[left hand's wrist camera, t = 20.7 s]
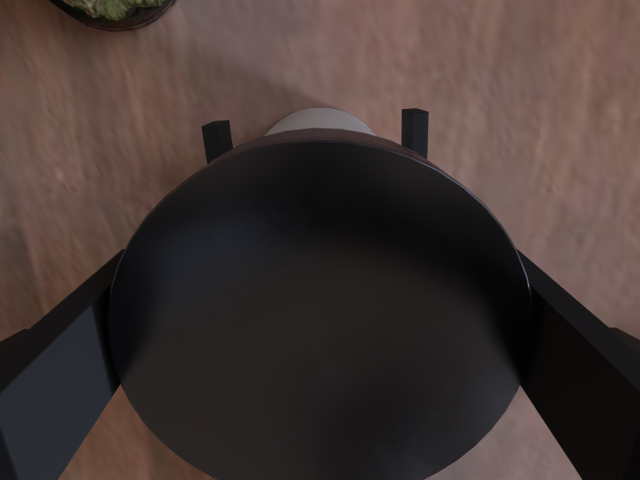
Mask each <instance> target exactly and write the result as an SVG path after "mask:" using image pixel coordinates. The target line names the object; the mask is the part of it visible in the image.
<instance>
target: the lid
mask: <svg viewBox="0 0 640 480" xmlns="http://www.w3.org/2000/svg"><path fill="white" fill-rule="evenodd" d="M533 326H534V320H533V304H532V296H531V291H530V287H529V282H528V278H527V274H526V271H525V269H524V266H523V264H522V261H521V259H520V256H519V254H518V251H517V249H516V248H515V246H514V244H513V243H512V241H511V239H510V237H509V236H508V234H507V232H506V231H505V229H504V227H503V226H502V225H501V224H500V222H499V221H498V220H497V219H496V218H495V216H494V215H493V214H492V213H491V212H490V210H489V209H488V208H487V207H486V206H485V205H484V204H483V203H482V202H481V201H480V200H479V199H478V198H476V197H475V196H474V195H473V194H472V193H471V192H470V191H469V190H467V189H466V188H465V187H464V186H463V185H462V184H460V183H459V182H458V181H456V180H455V179H453V178H452V177H451V176H449V175H448V174H447V173H445V172H444V171H443V170H441V169H440V168H439V167H437V166H436V165H434V164H433V163H431V162H430V161H428V160H427V159H425V158H424V157H422V156H421V155H419V154H417V153H416V152H414V151H412V150H410V149H408V148H406V147H404V146H401V145H399V144H397V143H395V142H393V141H390V140H387V139H384V138H381V137H377V136H374V135H371V134H368V133H363V132H357V131H351V130H345V129H333V128H307V129H298V130H288V131H283V132H279V133H275V134H271V135H267V136H263V137H259V138H257V139H254V140H252V141H249V142H247V143H244V144H242V145H239V146H237V147H235V148H233V149H231V150H229V151H228V152H226V153H224V154H222V155H221V156H219V157H217V158H215V159H214V160H212V161H211V162H210V163H208V164H207V165H206V166H204V167H203V168H202V169H200V170H199V171H198V172H196V173H195V174H194V175H192V176H191V177H190V178H188V179H187V180H186V181H184V182H183V183H182V184H181V185H179V186H178V187H177V188H175V189H174V190H173V191H172V192H170V193H169V194H168V195H166V196H165V197H164V198H163V199H162V200H161V201H160V203H159V204H158V205H157V206H156V207H155V208H154V209H153V210H152V211H151V212H150V213H149V214H148V215H147V216H146V217H145V219H144V220H143V222H142V223H141V224H140V226H139V227H138V229H137V230H136V232H135V233H134V234H133V236H132V237H131V239H130V241H129V243H128V245H127V247H126V249H125V251H124V253H123V255H122V257H121V259H120V261H119V263H118V266H117V270H116V273H115V276H114V280H113V283H112V286H111V292H110V299H109V307H108V338H109V344H110V349H111V355H112V360H113V363H114V366H115V369H116V372H117V375H118V378H119V381H120V383H121V385H122V387H123V389H124V391H125V393H126V395H127V397H128V399H129V401H130V403H131V405H132V406H133V407H134V409H135V410H136V412H137V413H138V415H139V416H140V418H141V419H142V421H143V422H144V423H145V424H146V425H147V426H148V428H149V429H150V430H151V431H152V432H153V433H154V434H155V435H156V437H157V438H158V439H159V440H160V441H162V442H163V443H164V444H165V445H166V446H167V447H168V448H169V449H171V450H172V451H173V452H174V453H175V454H176V455H178V456H179V457H181V458H182V459H184V460H185V461H186V462H188V463H189V464H191V465H192V466H193V467H195V468H197V469H199V470H200V471H202V472H204V473H206V474H208V475H210V476H211V477H213V478H215V479H217V480H423V479H425V478H427V477H429V476H431V475H433V474H435V473H438V472H439V471H441V470H442V469H444V468H445V467H447V466H449V465H450V464H452V463H453V462H455V461H457V460H458V459H459V458H460V457H462V456H463V455H464V454H465V453H467V452H468V451H469V450H470V449H472V448H473V447H474V446H475V445H476V444H477V443H478V442H479V441H480V440H481V439H482V438H483V437H484V436H485V435H486V434H487V433H488V432H489V431H490V430H491V429H492V428H493V427H494V425H495V424H496V423H497V421H498V420H499V419H500V418H501V416H502V415H503V414H504V412H505V411H506V409H507V408H508V406H509V404H510V403H511V401H512V399H513V397H514V396H515V394H516V392H517V390H518V388H519V385H520V383H521V380H522V378H523V376H524V373H525V371H526V367H527V363H528V359H529V355H530V351H531V347H532V337H533Z"/></svg>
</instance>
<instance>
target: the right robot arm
mask: <svg viewBox="0 0 640 480" xmlns="http://www.w3.org/2000/svg"><path fill="white" fill-rule="evenodd" d="M428 116H429V112H427V111H424V110H420V109H417V108H413V109H402V144H401V146H404V147H406V148H408V149H410V150H412V151H414V152H416V153H417V154H419V155H421V156H422V157H424V158H425V159H427V148H428ZM202 132H203V138H204V145H205V151H206V157H207V164H208V163H210V162H211V161H212V160H214V159H215V158H217V157H219V156H221V155H222V154H224V153H226V152H228V151H229V150H231V149H233V146H232V138H231V131H230V123H229V120H224V121H214V122H211V123H209V124H206V125H204V126H202Z"/></svg>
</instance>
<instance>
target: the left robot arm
mask: <svg viewBox="0 0 640 480" xmlns="http://www.w3.org/2000/svg"><path fill="white" fill-rule="evenodd" d="M124 251H125V249H122V250H121V251H120V252H119V253H118V254H117V255H115V256H114V257H113V258H112V259H111V260H110V261H108V262H107V263H106V264H105V265H104V266H103V267H101V268H100V269H99V270H98V271H97V272H96V273H94V274H93V275H92V276H91V277H90V278H89V279H87V280H86V281H85V282H84V283H83V284H82V285H80V286H79V287H78V288H77V289H76V290H75V291H73V292H72V293H71V294H70V295H69V296H68V297H66V298H65V299H64V300H63V301H62V302H61V303H59V304H58V305H57V306H56V307H55V308H54V309H52V310H51V311H50V312H49V313H48V314H47V315H45V316H44V317H43V318H42V319H41V320H40V321H38V322H37V323H36V324H35V325H34V326H33V327H31V328H30V329H24V330H22V331H20V332H18V333H16V334H14V335H12V336H10V337H8V338H7V339H5V340H3V341H1V342H0V480H58V478H59V477H60V475H61V474H62V472H63V471H64V469H65V468H66V466H67V465H68V463H69V461H70V460H71V458H72V457H73V455H74V454H75V452H76V451H77V449H78V448H79V446H80V445H81V443H82V442H83V440H84V439H85V437H86V436H87V434H88V433H89V431H90V430H91V428H92V426H93V425H94V423H95V422H96V420H97V419H98V417H99V416H100V414H101V413H102V411H103V410H104V408H105V407H106V405H107V404H108V402H109V401H110V399H111V398H112V396H113V395H114V393H115V391H116V390H117V388H118V387H119V385H120V384H121V383H120V381H119V378H118V375H117V372H116V369H115V366H114V363H113V360H112V355H111V349H110V344H109V338H108V307H109V299H110V292H111V286H112V283H113V280H114V276H115V273H116V270H117V266H118V263H119V261H120V259H121V257H122V255H123V253H124ZM517 251H518V254H519V256H520V259H521V261H522V264H523V266H524V269H525V271H526V274H527V278H528V282H529V287H530V291H531V296H532V304H533V320H534V326H533V337H532V347H531V351H530V355H529V359H528V363H527V367H526V371H525V373H524V376H523V378H522V380H521V383H520V385H521V387H522V388H523V390H524V391H525V393H526V394H527V396H528V398H529V399H530V401H531V402H532V404H533V405H534V407H535V408H536V410H537V411H538V413H539V414H540V416H541V417H542V419H543V420H544V422H545V423H546V425H547V426H548V428H549V429H550V431H551V433H552V434H553V436H554V437H555V439H556V440H557V442H558V443H559V445H560V446H561V448H562V449H563V451H564V452H565V454H566V455H567V457H568V458H569V460H570V461H571V463H572V465H573V466H574V468H575V469H576V471H577V472H578V474H579V475H580V477H581V478H582V480H640V340H639V339H637V338H635V337H633V336H631V335H629V334H627V333H625V332H623V331H621V330H620V329H618V328H609V327H607V326H606V325H605V324H604V323H603V322H602V321H600V320H599V319H598V318H597V317H596V316H595V315H593V314H592V313H591V312H590V311H589V310H588V309H586V308H585V307H584V306H583V305H582V304H581V303H579V302H578V301H577V300H576V299H575V298H574V297H572V296H571V295H570V294H569V293H568V292H567V291H565V290H564V289H563V288H562V287H561V286H560V285H558V284H557V283H556V282H555V281H554V280H553V279H551V278H550V277H549V276H548V275H547V274H546V273H544V272H543V271H542V270H541V269H540V268H539V267H537V266H536V265H535V264H534V263H533V262H532V261H530V260H529V259H528V258H527V257H526V256H525V255H523V254H522V253H521V252H520V251H519V250H518V249H517Z"/></svg>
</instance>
